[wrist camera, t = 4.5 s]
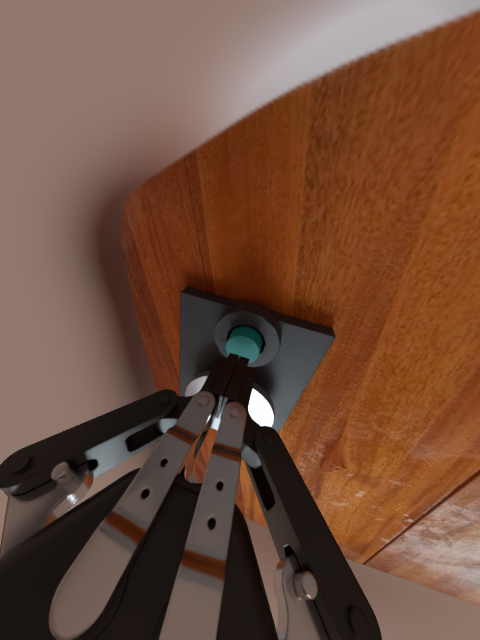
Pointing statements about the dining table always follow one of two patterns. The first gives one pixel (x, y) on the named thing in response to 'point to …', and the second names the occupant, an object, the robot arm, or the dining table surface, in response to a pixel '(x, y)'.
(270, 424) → the scale pan
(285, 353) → the scale
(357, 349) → the dining table surface
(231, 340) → the button
